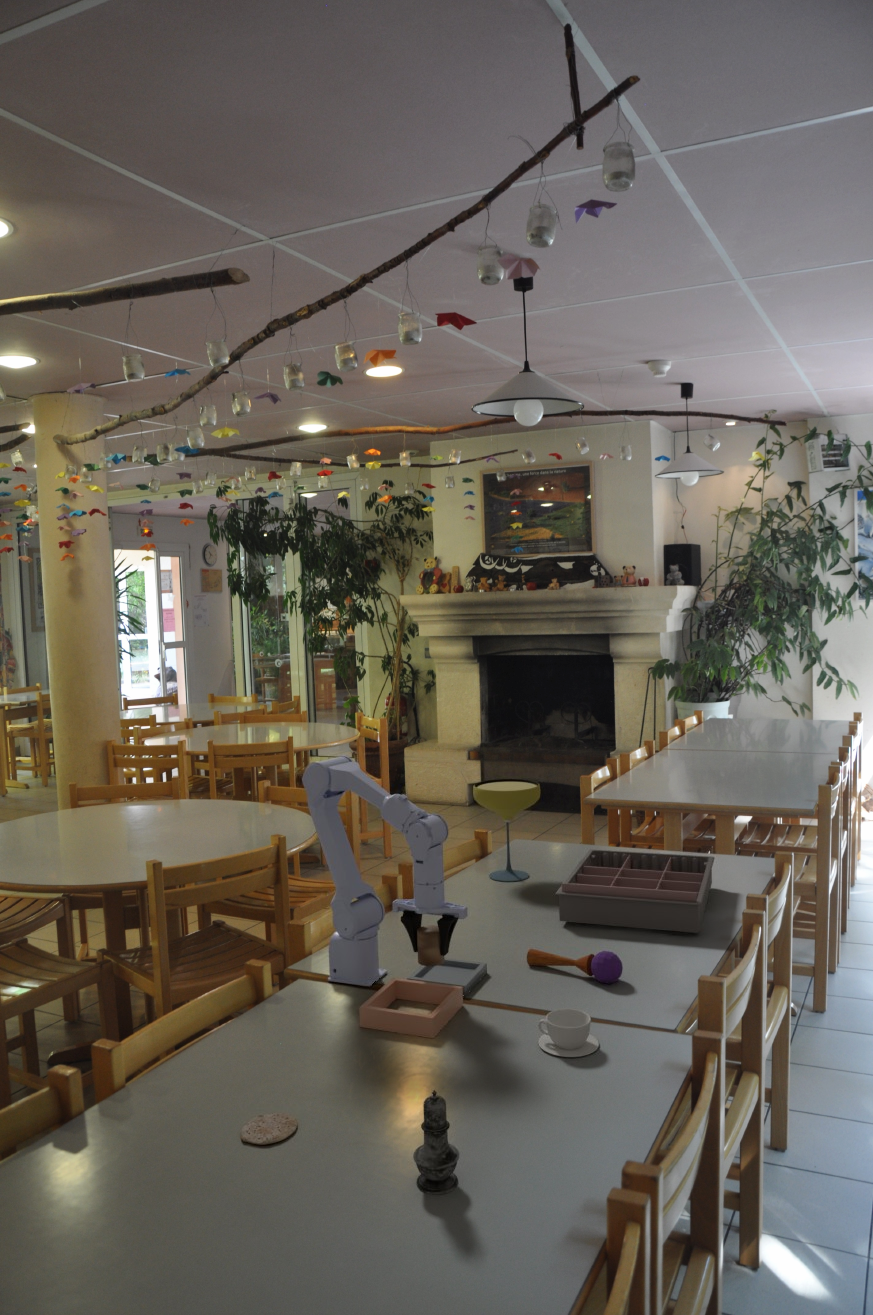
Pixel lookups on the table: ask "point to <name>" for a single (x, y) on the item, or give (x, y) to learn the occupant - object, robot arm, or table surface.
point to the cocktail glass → (507, 811)
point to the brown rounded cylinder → (429, 946)
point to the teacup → (567, 1033)
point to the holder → (409, 1022)
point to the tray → (452, 973)
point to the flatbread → (268, 1128)
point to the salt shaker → (436, 1150)
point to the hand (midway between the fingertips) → (430, 952)
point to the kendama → (582, 964)
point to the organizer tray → (637, 890)
